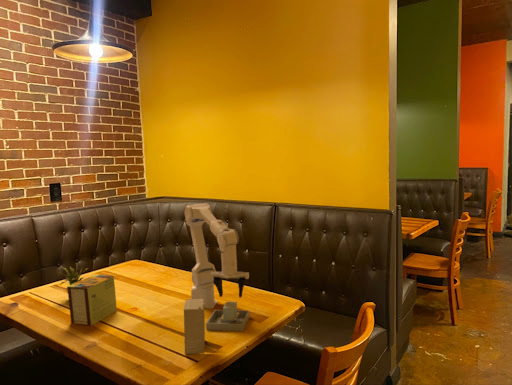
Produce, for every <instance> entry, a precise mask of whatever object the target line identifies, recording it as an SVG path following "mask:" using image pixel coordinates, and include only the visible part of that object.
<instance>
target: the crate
mask: <svg viewBox="0 0 512 385" xmlns="http://www.w3.org/2000/svg"><path fill="white" fill-rule="evenodd" d="M237 312H240V322H239V324H230V323H221V317H222V315H223V309H214V310H213V312H212V313H211V314H210V317H209V318H208V320H207V321H206V322H205V329H206V330H205V331H223V332H224V331H225V332H229V331H230V332H244V331H245V329H246V326H247V324H248V321H249V319H250V318H251V317H250V310H243V309H242V310H238V309H237Z"/></svg>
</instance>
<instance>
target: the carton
mask: <svg viewBox="0 0 512 385" xmlns="http://www.w3.org/2000/svg"><path fill="white" fill-rule="evenodd" d="M222 310H223V318H227V319H234V317H235V315H236V313H237V310H238V302H237V301H226V302H225V303H224V306H223V307H222Z"/></svg>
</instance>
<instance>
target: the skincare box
mask: <svg viewBox="0 0 512 385" xmlns="http://www.w3.org/2000/svg"><path fill="white" fill-rule="evenodd" d="M183 317H184V318H183V326H184V328H183V329H184V331H183V334H184V354H185V355H192V354H194V355H196V354H204V353H205V343H206V342H205V341H206V340H205V338H206V337H205V336H206V335H205V334H206V332H205V331H206V330H205V329H206V322H205V308H204V299H192V298H188V299H185V303H184V306H183Z"/></svg>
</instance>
